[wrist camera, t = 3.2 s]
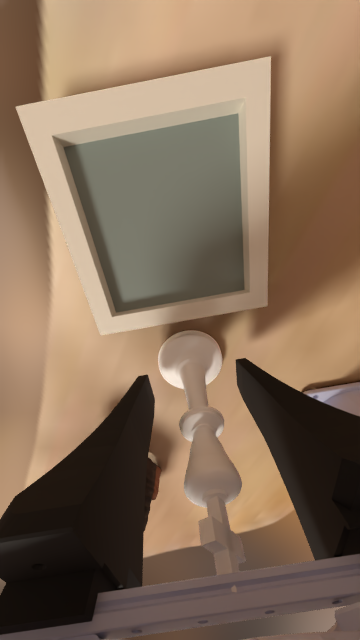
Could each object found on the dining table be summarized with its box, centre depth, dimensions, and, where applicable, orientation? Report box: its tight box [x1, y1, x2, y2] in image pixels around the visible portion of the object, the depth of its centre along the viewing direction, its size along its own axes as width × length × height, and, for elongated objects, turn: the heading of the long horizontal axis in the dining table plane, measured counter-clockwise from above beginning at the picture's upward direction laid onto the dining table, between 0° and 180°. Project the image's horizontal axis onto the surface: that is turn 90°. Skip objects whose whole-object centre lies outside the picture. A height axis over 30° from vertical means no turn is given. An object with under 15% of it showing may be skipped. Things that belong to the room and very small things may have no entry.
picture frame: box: [16, 56, 271, 335], centre depth 9 cm, size 10×10×2 cm
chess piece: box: [158, 330, 246, 592], centre depth 9 cm, size 5×5×10 cm
